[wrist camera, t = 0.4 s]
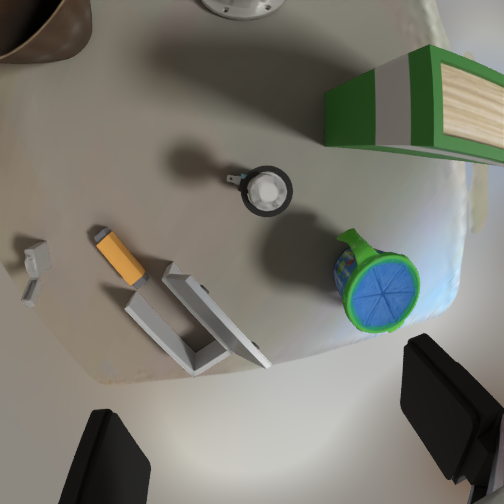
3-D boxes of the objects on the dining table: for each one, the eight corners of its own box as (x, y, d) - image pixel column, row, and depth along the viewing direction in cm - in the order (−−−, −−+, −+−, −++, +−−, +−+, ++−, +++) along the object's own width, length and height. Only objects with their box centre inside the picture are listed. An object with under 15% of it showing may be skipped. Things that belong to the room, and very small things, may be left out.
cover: (185, 280, 31) (194, 271, 32) (165, 277, 38) (173, 270, 39) (267, 369, 35) (274, 361, 36) (236, 353, 42) (242, 346, 43)
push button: (222, 196, 42) (223, 209, 32) (232, 156, 40) (236, 157, 31) (271, 208, 43) (287, 224, 33) (282, 169, 41) (300, 173, 32)
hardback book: (431, 111, 40) (555, 104, 18) (430, 157, 43) (555, 176, 20) (325, 93, 39) (429, 44, 16) (324, 146, 41) (433, 146, 18)
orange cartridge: (96, 236, 41) (91, 240, 40) (108, 225, 41) (103, 228, 39) (138, 285, 44) (135, 291, 42) (150, 276, 44) (147, 281, 42)
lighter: (38, 241, 41) (10, 258, 33) (47, 240, 41) (19, 257, 33) (47, 286, 43) (23, 308, 35) (56, 285, 43) (32, 308, 35)
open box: (132, 294, 44) (124, 309, 40) (173, 261, 44) (168, 274, 39) (195, 358, 48) (193, 377, 44) (235, 331, 48) (237, 349, 43)
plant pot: (50, -6, 29) (0, -47, 14) (133, -5, 32) (100, -64, 16) (16, 80, 33) (-51, 63, 18) (96, 88, 36) (38, 61, 20)
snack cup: (304, 237, 44) (327, 261, 35) (369, 206, 44) (406, 221, 34) (339, 324, 49) (364, 361, 40) (396, 294, 49) (429, 323, 39)
